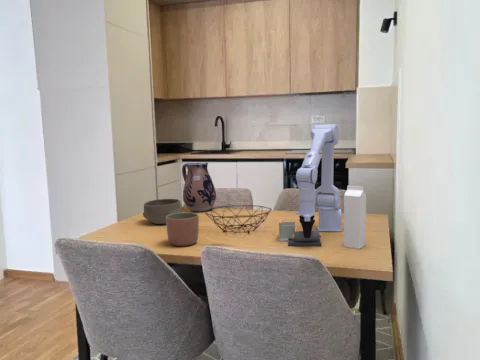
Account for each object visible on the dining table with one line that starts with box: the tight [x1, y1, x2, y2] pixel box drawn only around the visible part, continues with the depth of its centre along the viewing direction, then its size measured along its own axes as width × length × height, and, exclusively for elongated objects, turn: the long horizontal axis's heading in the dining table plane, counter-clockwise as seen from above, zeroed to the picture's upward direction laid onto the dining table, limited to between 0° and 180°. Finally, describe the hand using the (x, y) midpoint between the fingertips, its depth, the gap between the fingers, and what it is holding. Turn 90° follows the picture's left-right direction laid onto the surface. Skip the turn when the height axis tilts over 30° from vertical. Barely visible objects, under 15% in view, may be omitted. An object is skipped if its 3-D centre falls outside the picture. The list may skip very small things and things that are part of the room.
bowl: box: [142, 198, 183, 225], centre depth 200 cm, size 17×18×10 cm
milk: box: [343, 184, 367, 250], centre depth 153 cm, size 6×6×22 cm
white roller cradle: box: [278, 221, 296, 242], centre depth 167 cm, size 14×9×6 cm, turn 83°
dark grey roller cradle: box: [287, 238, 322, 247], centre depth 159 cm, size 12×6×1 cm, turn 83°
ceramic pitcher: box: [181, 162, 217, 213], centre depth 226 cm, size 18×21×25 cm
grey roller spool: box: [292, 229, 323, 242], centre depth 158 cm, size 11×4×4 cm, turn 83°
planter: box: [165, 211, 200, 247], centre depth 163 cm, size 12×12×11 cm
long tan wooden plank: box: [278, 217, 284, 227], centre depth 166 cm, size 1×9×1 cm, turn 173°
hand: (307, 236), depth 158 cm, fingers closed on grey roller spool, 4 cm apart
